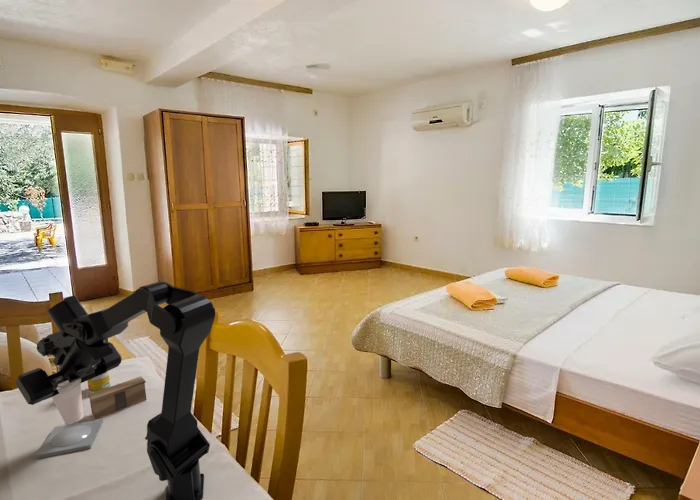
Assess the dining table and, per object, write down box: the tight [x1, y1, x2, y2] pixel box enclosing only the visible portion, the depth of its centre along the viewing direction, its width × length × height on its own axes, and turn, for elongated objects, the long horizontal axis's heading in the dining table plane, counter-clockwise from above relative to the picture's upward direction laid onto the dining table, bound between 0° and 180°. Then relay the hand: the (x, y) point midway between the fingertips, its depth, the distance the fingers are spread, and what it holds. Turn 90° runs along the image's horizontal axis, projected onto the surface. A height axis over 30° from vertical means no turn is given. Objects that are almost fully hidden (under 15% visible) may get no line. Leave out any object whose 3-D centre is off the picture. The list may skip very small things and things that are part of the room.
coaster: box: [36, 418, 104, 459], centre depth 91 cm, size 10×10×1 cm
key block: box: [87, 375, 147, 420], centre depth 103 cm, size 3×12×6 cm, turn 135°
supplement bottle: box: [86, 370, 112, 394], centre depth 112 cm, size 5×5×10 cm
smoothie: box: [51, 365, 84, 425], centre depth 89 cm, size 6×6×14 cm
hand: (61, 389), depth 89 cm, fingers closed on smoothie, 6 cm apart
